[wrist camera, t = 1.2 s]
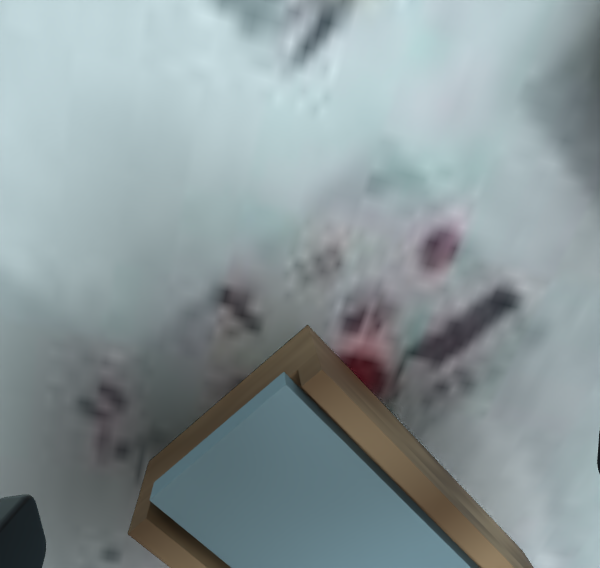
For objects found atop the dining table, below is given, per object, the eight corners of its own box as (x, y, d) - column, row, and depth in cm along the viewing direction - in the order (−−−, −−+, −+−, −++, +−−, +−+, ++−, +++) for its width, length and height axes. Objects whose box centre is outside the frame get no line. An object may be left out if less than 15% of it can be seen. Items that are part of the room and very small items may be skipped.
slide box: (522, 551, 26) (574, 629, 22) (380, 658, 27) (405, 752, 23) (307, 325, 22) (321, 369, 18) (148, 461, 23) (127, 533, 19)
